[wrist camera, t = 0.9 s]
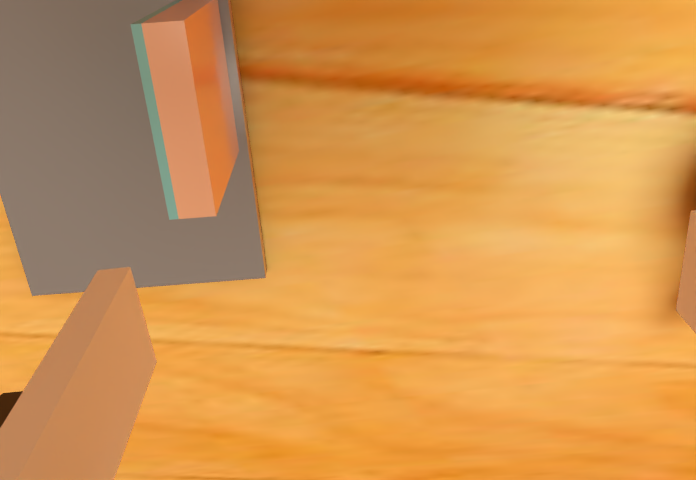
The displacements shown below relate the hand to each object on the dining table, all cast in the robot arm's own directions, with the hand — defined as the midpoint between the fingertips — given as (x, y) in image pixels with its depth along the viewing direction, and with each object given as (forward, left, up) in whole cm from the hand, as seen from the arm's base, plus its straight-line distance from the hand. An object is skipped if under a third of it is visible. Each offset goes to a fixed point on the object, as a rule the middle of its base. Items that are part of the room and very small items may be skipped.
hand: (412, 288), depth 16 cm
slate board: (-1, -13, -23) cm, 26 cm away
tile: (-1, -8, -21) cm, 23 cm away
